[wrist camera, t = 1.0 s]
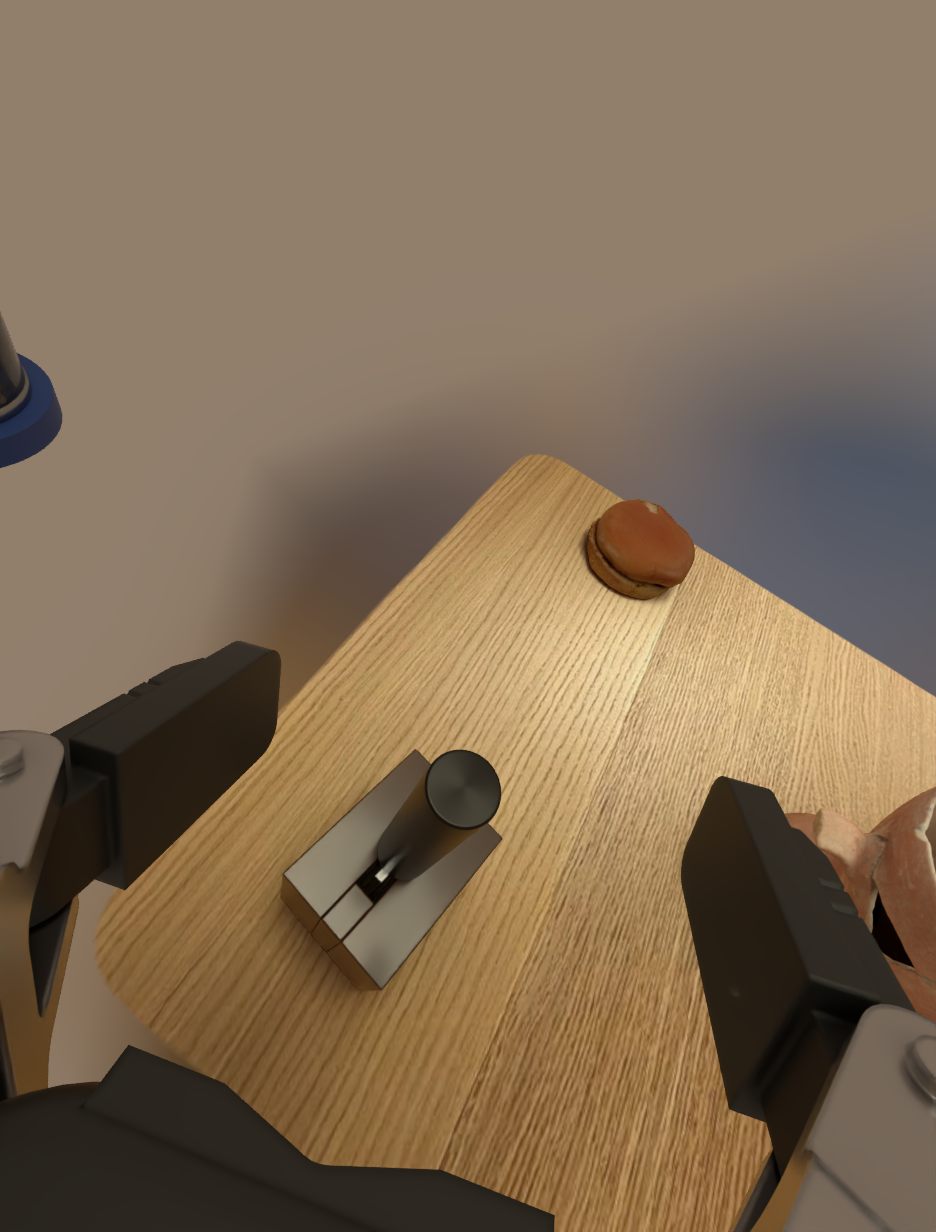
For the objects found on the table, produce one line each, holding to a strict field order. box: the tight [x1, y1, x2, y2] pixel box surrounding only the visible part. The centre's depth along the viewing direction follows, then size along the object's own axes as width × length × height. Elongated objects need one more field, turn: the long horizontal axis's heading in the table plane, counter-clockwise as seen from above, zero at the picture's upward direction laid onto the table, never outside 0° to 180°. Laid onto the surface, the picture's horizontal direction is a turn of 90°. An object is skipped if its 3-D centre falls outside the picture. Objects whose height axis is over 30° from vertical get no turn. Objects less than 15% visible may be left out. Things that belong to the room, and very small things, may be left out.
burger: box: [587, 500, 695, 599], centre depth 49 cm, size 10×9×5 cm
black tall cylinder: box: [362, 750, 501, 896], centre depth 23 cm, size 2×3×17 cm
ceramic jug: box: [785, 787, 936, 1023], centre depth 29 cm, size 18×14×14 cm
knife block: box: [281, 749, 502, 991], centre depth 26 cm, size 6×8×7 cm
